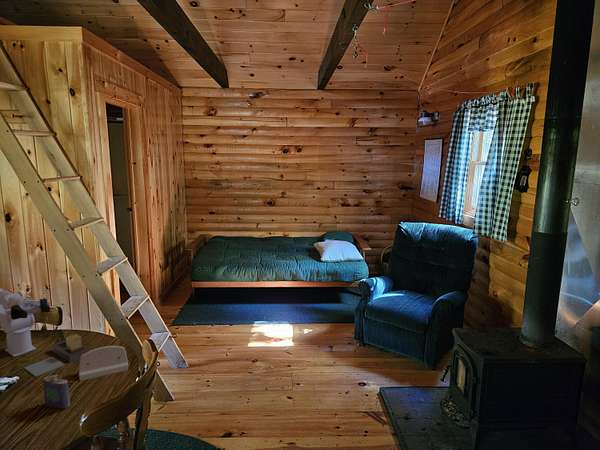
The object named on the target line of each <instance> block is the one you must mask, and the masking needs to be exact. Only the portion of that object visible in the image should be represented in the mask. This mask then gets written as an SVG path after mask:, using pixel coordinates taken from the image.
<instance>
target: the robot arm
mask: <svg viewBox="0 0 600 450" xmlns="http://www.w3.org/2000/svg"><path fill="white" fill-rule="evenodd" d="M39 310H40V313H41V314H43V313H51V302H50V301H49V300H48V299H47V298H40V299H39V300H35V299H31V298H30V297H29V296H28V297H24V295H23V293H22V292H20V291H18V292H15V293H13V292H11V291H8V290H7V289H5V290H4V289H3V288H1V287H0V328H1V329H2V330H3V332H4V333H6V343H7V348H5V349H4V351H5V352H6V353H8V354H10V355H11V356H12V357H18V356H20V355H23V354H27V353H29V352H31V351H32V352H33V351H35V350H36V349H37V347H35V346H34V345H33V344H32V335H31V329H32V327H33V326H34V324H35V315H34V314H35V313H36V312H38V311H39Z"/></svg>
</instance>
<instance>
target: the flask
mask: <svg viewBox="0 0 600 450" xmlns="http://www.w3.org/2000/svg"><path fill="white" fill-rule="evenodd" d="M58 377H59V375H58V374H57V373H56V374H55V375H53V374H52V375H49V376H45V377H44V378H43V379H42V382H43V392H44V393H43V396H44V406H46V407H49V408H53V409H56V410H57V409H59V410H67V409H68V408H69V407H71V401H70V391H69V380H67V379H62V378H60V379H59V378H58Z"/></svg>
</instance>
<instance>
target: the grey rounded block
mask: <svg viewBox="0 0 600 450" xmlns="http://www.w3.org/2000/svg"><path fill="white" fill-rule="evenodd" d="M78 367H79V369H78V377H79V381H80V382H81V381H84V380H89V379H95V378H98V377H103V376H108V375H113V374H116V373H120V372H121V373H122V372H125V371H128V370H129V360H128V356H127V352H126V348H125V347H124V346H121V345H120V346H119V345H105V346H101V347H100V346H99V347H96V348H94V349H90V351H88V352H86V353H84V354H83V355H81V357H80V359H79V366H78Z"/></svg>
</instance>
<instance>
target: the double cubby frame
mask: <svg viewBox="0 0 600 450" xmlns="http://www.w3.org/2000/svg"><path fill="white" fill-rule="evenodd" d="M50 351H51V352H52V353H53V354H55V355H57V356H59V357H60V358H61V359H64V360H65V361H67V362H68V363H73V362H76V361H78V360H80V357H81V355H83V354H84V353H86V352H88V351H91V349H90V347H87V346H86V345H84V344H82V350H80V351H77V352H74V353H72V354H70V353H68V352H67V347H66V339H64V340H60V341H58V342H55V343H53V344H50Z"/></svg>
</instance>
